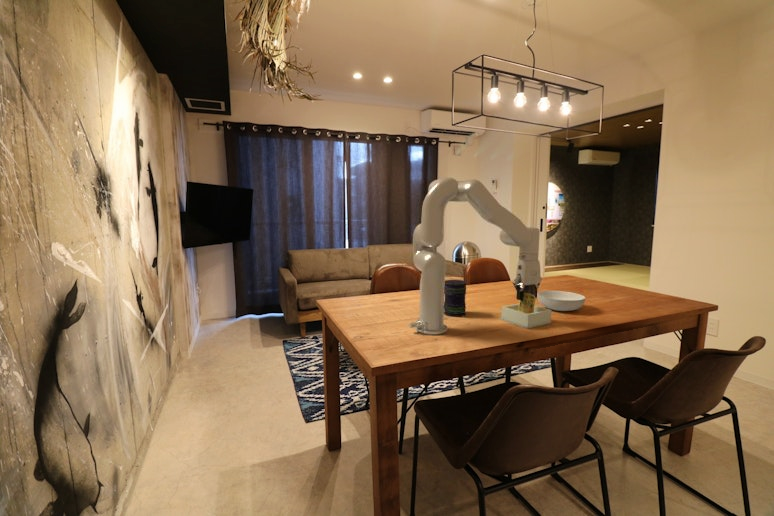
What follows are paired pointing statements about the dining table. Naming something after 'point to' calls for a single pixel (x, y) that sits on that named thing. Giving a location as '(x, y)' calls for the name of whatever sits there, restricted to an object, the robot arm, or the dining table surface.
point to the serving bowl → (560, 300)
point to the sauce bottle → (528, 300)
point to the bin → (526, 316)
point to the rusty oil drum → (454, 298)
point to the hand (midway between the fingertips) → (526, 298)
